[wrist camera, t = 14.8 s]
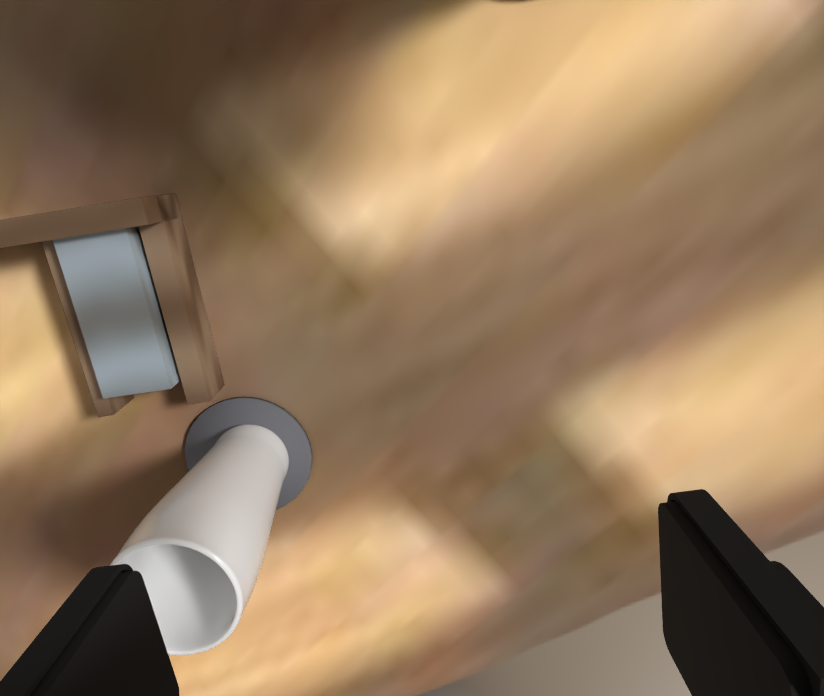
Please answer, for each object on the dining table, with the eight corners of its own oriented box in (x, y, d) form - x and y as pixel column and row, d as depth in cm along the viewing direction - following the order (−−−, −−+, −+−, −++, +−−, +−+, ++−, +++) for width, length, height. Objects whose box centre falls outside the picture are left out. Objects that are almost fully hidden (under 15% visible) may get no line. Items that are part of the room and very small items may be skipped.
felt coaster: (172, 406, 42) (170, 408, 42) (298, 388, 42) (297, 390, 41) (204, 518, 45) (202, 521, 44) (323, 502, 44) (322, 505, 44)
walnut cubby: (-95, 237, 39) (-166, 246, 34) (175, 193, 38) (140, 197, 33) (-24, 420, 43) (-79, 452, 38) (224, 385, 42) (199, 413, 37)
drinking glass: (313, 485, 44) (264, 641, 29) (225, 507, 44) (134, 671, 30) (282, 400, 42) (213, 522, 27) (190, 425, 42) (75, 557, 28)
